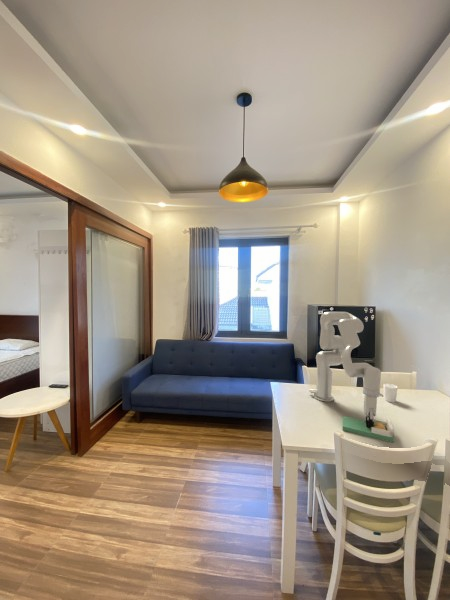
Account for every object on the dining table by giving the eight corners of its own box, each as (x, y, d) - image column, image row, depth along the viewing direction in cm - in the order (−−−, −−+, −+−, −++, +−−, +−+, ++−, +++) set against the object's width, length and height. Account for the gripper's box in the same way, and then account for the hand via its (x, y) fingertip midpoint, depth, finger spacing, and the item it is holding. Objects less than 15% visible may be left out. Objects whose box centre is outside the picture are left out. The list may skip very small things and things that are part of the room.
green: (342, 430, 128) (343, 418, 128) (342, 419, 139) (343, 408, 138) (393, 442, 118) (393, 430, 118) (389, 429, 129) (389, 418, 129)
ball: (379, 438, 124) (372, 429, 125) (378, 432, 128) (371, 423, 129) (388, 433, 122) (380, 425, 123) (387, 428, 126) (380, 419, 127)
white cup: (379, 397, 168) (380, 383, 168) (390, 397, 169) (391, 383, 169) (388, 403, 161) (389, 388, 160) (399, 402, 161) (400, 387, 161)
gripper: (361, 384, 136) (360, 417, 137) (363, 395, 121) (362, 432, 122) (377, 387, 133) (376, 420, 133) (381, 399, 118) (379, 436, 119)
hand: (369, 425), depth 128 cm, fingers open, 3 cm apart
